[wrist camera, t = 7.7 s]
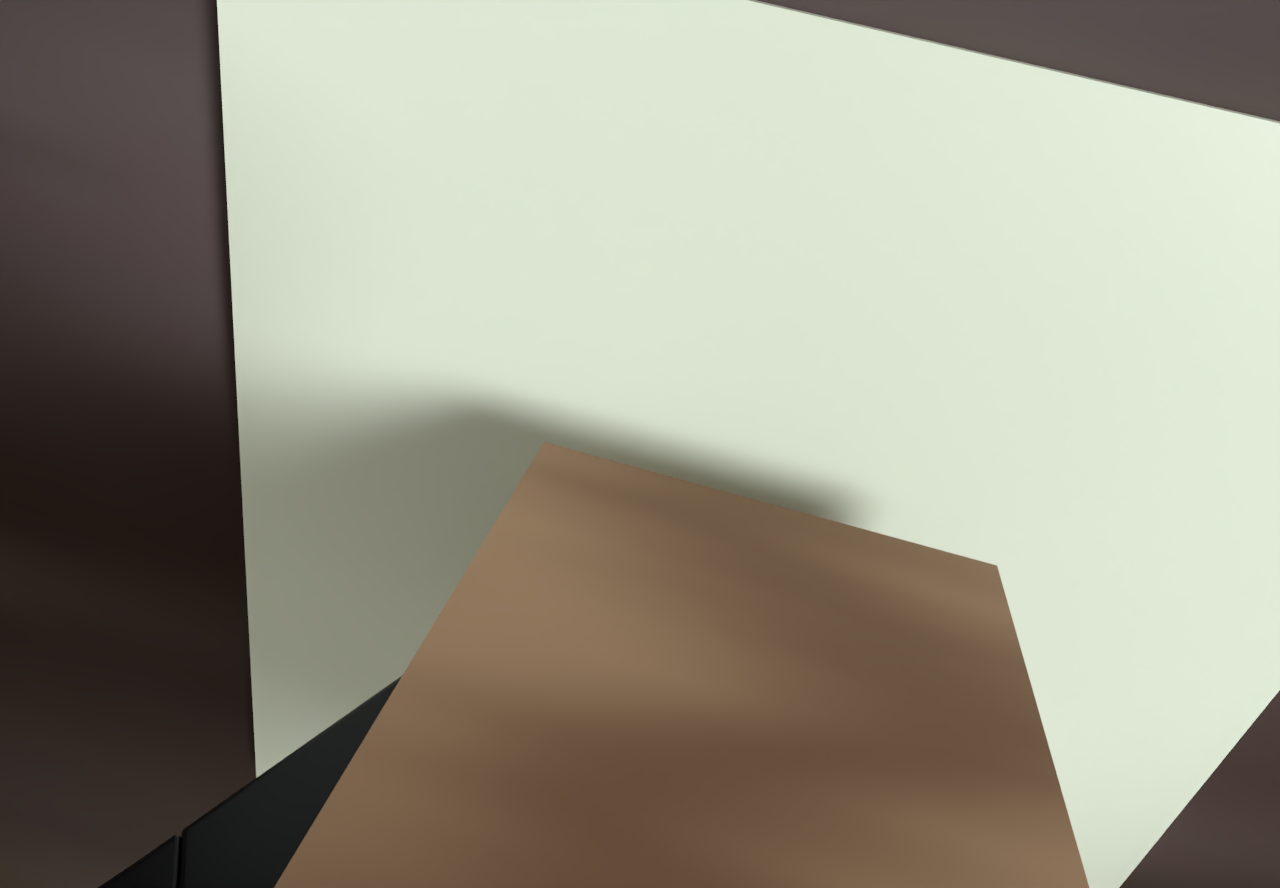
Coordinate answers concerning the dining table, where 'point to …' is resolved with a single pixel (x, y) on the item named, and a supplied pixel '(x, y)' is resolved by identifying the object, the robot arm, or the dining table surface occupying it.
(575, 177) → the sage pad
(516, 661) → the walnut block
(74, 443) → the dining table surface
